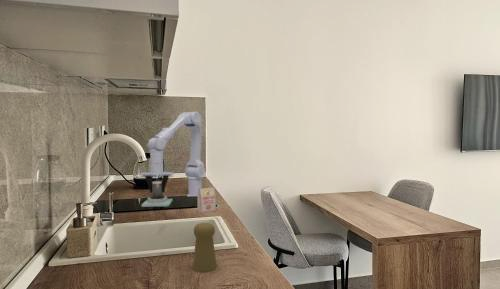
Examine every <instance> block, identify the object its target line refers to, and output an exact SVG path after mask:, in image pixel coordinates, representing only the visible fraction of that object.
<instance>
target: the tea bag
mask: <svg viewBox="0 0 500 289" xmlns="http://www.w3.org/2000/svg"><path fill="white" fill-rule="evenodd" d="M215 192H216V191H215V187H204V188H203V187H202V188H201V189H199V191H198V196H196V198H197V200H196V201H197V205H196V206H197V212H198V213H199V214H204V213H205V214H207V213H214V212H216V211H217V210H216V208H217V206H216V204H217V203H216V193H215Z"/></svg>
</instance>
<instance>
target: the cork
mask: <svg viewBox="0 0 500 289" xmlns="http://www.w3.org/2000/svg"><path fill="white" fill-rule="evenodd" d="M215 232H216V230H215V226H214V224H212V223H211V222H201V223H200V222H199V223H197V224H196V225H194V227H193V234H194V237H195V242H194V243H195V245H194V254H193V262H192V270H193V271H194V272H199V273H207V272H208V273H209V272H212V271H214V270H216V269H217V267H218V263H217V258H216V252H215V244H214V237H213V236H214V235H215Z"/></svg>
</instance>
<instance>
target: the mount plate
mask: <svg viewBox="0 0 500 289" xmlns="http://www.w3.org/2000/svg"><path fill="white" fill-rule="evenodd" d="M173 201H174V200H173V198H167V202H164V203H155V204H153V203H148V198H147V199H146V200H145V201H144V202H142V203H141V208H144V207H147V208H148V207H170V205H171V203H173Z"/></svg>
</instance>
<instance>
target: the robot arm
mask: <svg viewBox="0 0 500 289" xmlns="http://www.w3.org/2000/svg"><path fill="white" fill-rule="evenodd" d="M182 126H185V127H187V128H188V129H189V130H190V148H189V149H190V153H189V160H188V162H187V163H186V166H185V169H184V173H185V174H184V175H185V176H186V177H187V179H188V180H187V181H188V182H187V183H188V193H187V195H186V196H187V197H189V198H190V197H198V191H199V189H201V188H203V179H204V177H205V175H206V169H205V163H204V162H203V161H202V160H201V158H202V155H201V154H202V131H203V126H202V116H201V114H200V113H199V112H198V111H189V112H188V111H185V112H184V111H183V112H181V113H180V114H179V115H178V117H177V118H176V119H175V121H174V122H172V124H170V125H169V127H163V128H162V129H161V130H160V131H159V133H158V134H155V137H152V138H150V139H149V141H148V142H147V148H148V150H149V155H150V160H149V161H150V171H149V172H141V173H140V178H144V181H146V183H147V186H148V188H149V193H151V194H152V181H153V178H155V177H156V178H158V177H159V178H161V181H162V192H163V193H165V190H166V186H167V183H168V180H169V177H171V178H172V177H174V172H172V171H171V172H170V171H169V172H168V171H164V150H165V148H166V145H167V144H168V143H169V141H170V140H172V138H174V135H175V134H174V133H175V132H176V131H178V130H179V129H180V128H181V127H182Z"/></svg>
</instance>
